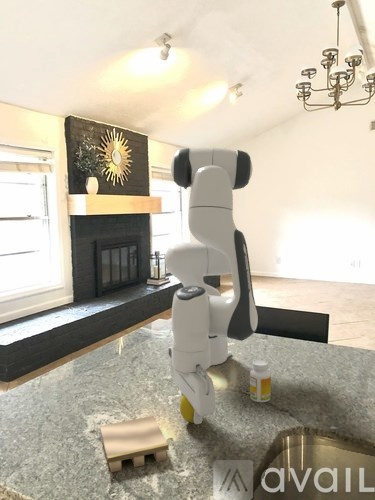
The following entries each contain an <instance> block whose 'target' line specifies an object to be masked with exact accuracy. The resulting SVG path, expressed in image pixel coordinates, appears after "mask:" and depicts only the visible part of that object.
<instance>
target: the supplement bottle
mask: <svg viewBox="0 0 375 500" xmlns="http://www.w3.org/2000/svg"><path fill="white" fill-rule="evenodd" d="M271 379H272V375H271V371H270V370H269V362H268V361H267V360H263V359H256V360H255V359H254V360H253V361H252V368H251V369H250V372H249V398H250V399H251V400H252V401H253V402H255V403H256V402H257V403H267V402H269V401H271V396H272V395H271V394H272V393H271V392H272V389H271V387H272V385H271V383H272V381H271Z"/></svg>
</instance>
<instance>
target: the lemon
mask: <svg viewBox="0 0 375 500" xmlns="http://www.w3.org/2000/svg"><path fill="white" fill-rule="evenodd" d="M179 402H180V403H179V411H180V415H181V417H182V418H183V419H184V420H185V421H187V422H190V424H195V423H194V421H193V414H194V408H193V407H192V405H191V404H190V402H189V401H188V400H187V398H186V397H185V395H183V396H181V398H180V401H179Z"/></svg>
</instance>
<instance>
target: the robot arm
mask: <svg viewBox="0 0 375 500" xmlns="http://www.w3.org/2000/svg"><path fill="white" fill-rule="evenodd" d="M170 172H171V176H172V178H173V182H174V183H175V184H176V185H177V186H178V187H181V188H184V190H187V189H188V188H190V193H189V202H188V218H187V219H188V228H189V231H190V233H191V235H192V236H193V237H194V239H195V240H197V241H198V242H182V243H178V244H174V245H171V246H170V247H169V248H168V250H167V251H166V253H165V255H164V264H165V267H166V269H167V270H168V273H170V274H171V275H172V276H173V277H175V278H176V279H177V280H178V281H179V282H180V283H181V284H182V286H183V287H180V288H179V289H177V290H175V292H174V294H173V299H172V305H171V322H170V323H171V331H172V336H173V340H172V342H171V346H168V347H167V354H168V356H169V357H170V362H169V365H170V373H171V378H172V381H173V382H174V384H175V385H176V387H177V388H178V390H179V391H180V396H181V397H182V396H183V395H185V397H186V398H187V400H188V401H189V402H190V404H191V405H192V407H193V408H194V414H193V421H194V423H193V424H195V425H199V424H202V422H203V417H205V416H210V415H213V414H215V413H216V397H215V396H216V395H215V393H216V392H215V385H214V381H213V379H212V377H211V376H209V374H208V372H207V371H206V370H208V369H209V368H210V367H211V366H216V365H220V364H223V363H224V362H226V361H227V359H228V358H229V357H230V356H232V351H231V350H229V348H228V347H229V346H228V339H232V340H236V341H241V342H243V341H245V340H246V339H248V338H250V337H252V335H253V334H254V333H255V332H257V328H258V321H259V320H258V319H259V318H258V311H257V306H256V301H255V297H254V290H253V282H252V272H251V266H250V258H249V253H248V245H247V241H246V238H245V235H244V233H243V232H242V231H241V230H239V229H238V228H237V226H236V224H235V222H234V216H233V213H234V211H233V210H234V199H233V197H234V196H233V191H234V190H240V189H244V188H245V187H246V186H247V185H249V182H250V181H251V178H252V174H253V162H252V160H251V156H250V155H249V153H248V152H246V151H243V150H239V149H235V150H233V149H226V148H221V147H219V148H218V147H212V148H192V149H191V148H189V147H188V148H181V149H178V150H177V151H176V152H175V153H174V157H173V158H172V160H171V164H170ZM230 274H231V281H232V290H233V296H222V295H221V293H220V291H219V289H217V288H216V287H213V286H211V285H209V284H207V283H205V281H204V277H206V276H207V277H208V276H226V275H230Z"/></svg>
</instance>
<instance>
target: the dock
mask: <svg viewBox="0 0 375 500" xmlns="http://www.w3.org/2000/svg"><path fill="white" fill-rule="evenodd" d="M99 432H100V435H101V439H102V443H103V448H104V452H105V456H106V461H107V464H108V465H109V469H110V473H114V472H115V473H116V472H120V471H122V461H125V460H129V459H130V460H131V461H132V465H133V467H134V468H136V467H141V466H145V456H147V455H148V456H149V455H151V454H152V455H153V457H154V459H155V461H156V463H158V462H163V461H167V451H169V449H170V448H169V443H168V441H167V440H166V438H165V435H164V434H163V431H162V430H161V428H160V425H159V423H158V422H157V420H156V418H155V416H154V415H148V416H145V417H140V418H134V419H129V420H124V421H119V422H113V423H109V424H103V425H100V426H99Z"/></svg>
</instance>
